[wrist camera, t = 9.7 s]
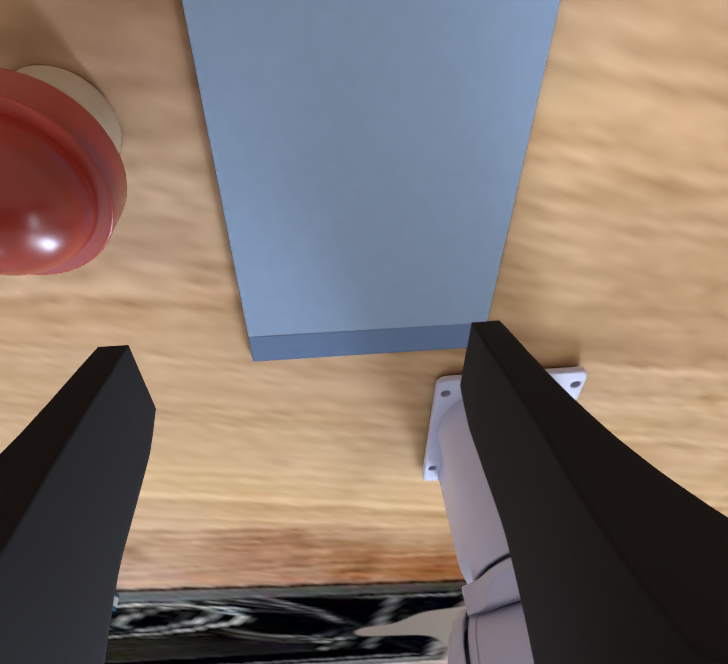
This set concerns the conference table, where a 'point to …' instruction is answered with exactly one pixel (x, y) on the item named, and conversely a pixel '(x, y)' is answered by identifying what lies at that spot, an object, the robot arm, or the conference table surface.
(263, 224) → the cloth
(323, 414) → the conference table surface
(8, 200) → the mushroom
